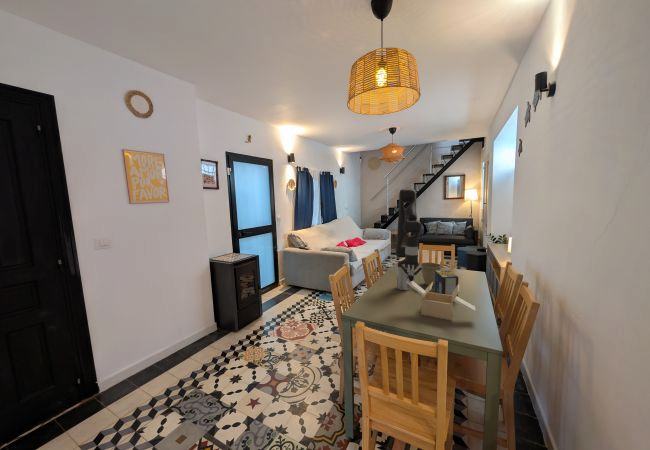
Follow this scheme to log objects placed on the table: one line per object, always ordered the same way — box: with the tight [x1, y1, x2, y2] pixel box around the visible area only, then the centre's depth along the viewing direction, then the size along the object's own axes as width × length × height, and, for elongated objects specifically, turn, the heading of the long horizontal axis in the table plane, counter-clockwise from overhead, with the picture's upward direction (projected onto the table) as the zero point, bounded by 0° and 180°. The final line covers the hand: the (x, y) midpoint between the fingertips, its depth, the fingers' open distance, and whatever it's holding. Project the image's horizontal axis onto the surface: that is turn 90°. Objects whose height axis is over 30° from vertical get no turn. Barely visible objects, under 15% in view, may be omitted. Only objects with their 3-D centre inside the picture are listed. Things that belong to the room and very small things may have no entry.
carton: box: [421, 291, 454, 322], centre depth 150 cm, size 16×14×10 cm
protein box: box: [434, 270, 460, 297], centre depth 177 cm, size 10×15×16 cm
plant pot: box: [420, 262, 442, 287], centre depth 198 cm, size 15×15×16 cm
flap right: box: [452, 283, 476, 313], centre depth 142 cm, size 8×14×13 cm
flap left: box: [406, 278, 433, 298], centre depth 153 cm, size 8×14×13 cm
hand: (411, 280), depth 155 cm, fingers closed
